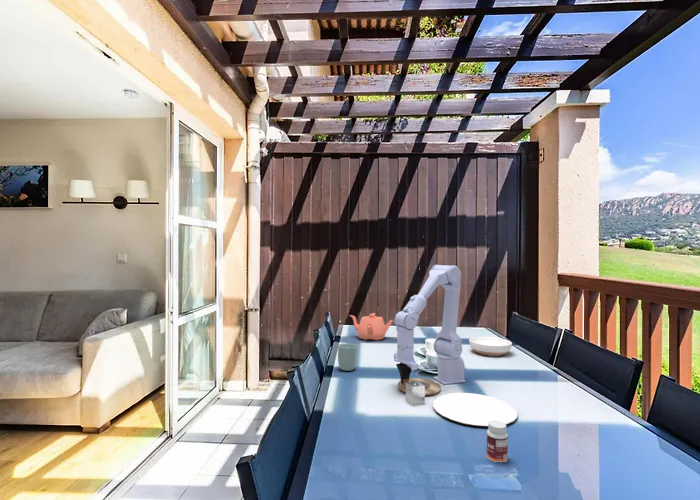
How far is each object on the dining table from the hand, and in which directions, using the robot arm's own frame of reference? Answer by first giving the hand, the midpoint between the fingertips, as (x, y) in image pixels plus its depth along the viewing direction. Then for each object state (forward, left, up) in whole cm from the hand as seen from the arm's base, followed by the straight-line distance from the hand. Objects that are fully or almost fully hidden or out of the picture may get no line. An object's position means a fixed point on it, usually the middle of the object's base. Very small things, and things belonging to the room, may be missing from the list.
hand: (404, 384), depth 138 cm
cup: (+11, -30, -3) cm, 32 cm away
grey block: (+1, +10, -3) cm, 10 cm away
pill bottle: (-1, +47, -3) cm, 47 cm away
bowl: (-63, -33, -3) cm, 71 cm away
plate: (-13, +22, -3) cm, 25 cm away
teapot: (-19, -79, -3) cm, 82 cm away
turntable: (-6, 0, -2) cm, 6 cm away
